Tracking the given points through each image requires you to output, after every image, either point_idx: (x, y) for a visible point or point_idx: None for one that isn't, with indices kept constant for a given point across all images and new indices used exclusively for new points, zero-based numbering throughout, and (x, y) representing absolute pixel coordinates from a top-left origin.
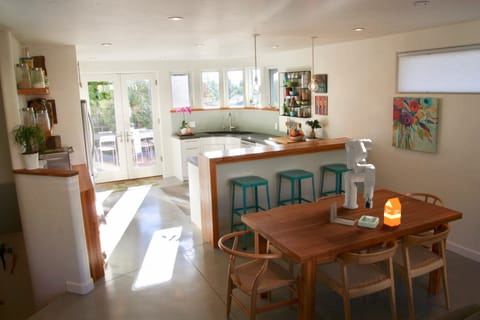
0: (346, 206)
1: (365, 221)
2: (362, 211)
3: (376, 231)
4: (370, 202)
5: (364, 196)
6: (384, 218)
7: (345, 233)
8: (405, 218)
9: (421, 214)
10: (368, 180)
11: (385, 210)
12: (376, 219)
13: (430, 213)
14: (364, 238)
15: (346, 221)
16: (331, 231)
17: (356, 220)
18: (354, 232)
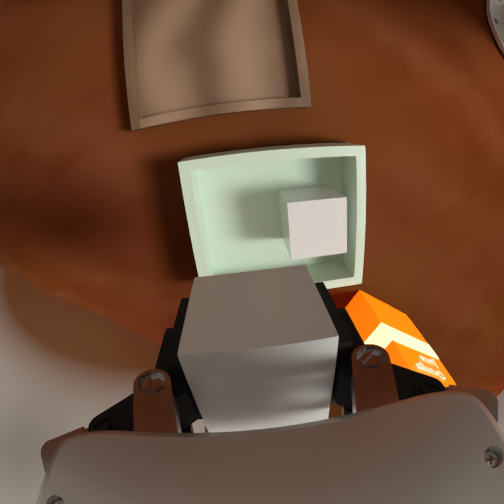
0: (495, 9)
1: (319, 174)
2: (494, 105)
3: (176, 303)
4: (213, 428)
5: (47, 496)
6: (370, 312)
7: (23, 158)
8: (453, 338)
9: (492, 354)
10: None
11: (393, 362)
12: (350, 262)
13: (497, 366)
14: (40, 280)
15: (225, 38)
16: (10, 77)
17: (272, 108)
18: (64, 194)
